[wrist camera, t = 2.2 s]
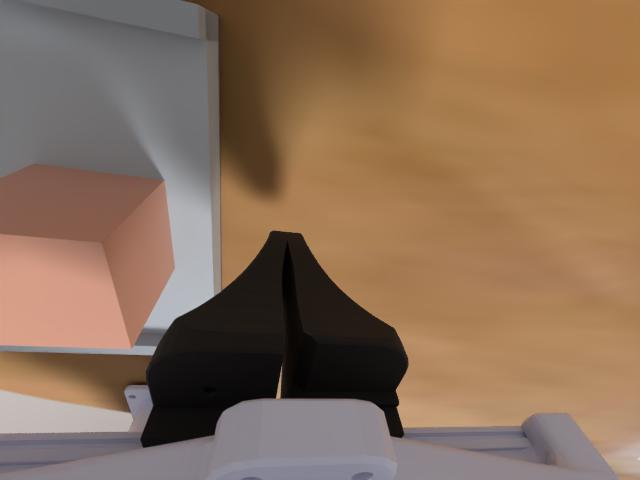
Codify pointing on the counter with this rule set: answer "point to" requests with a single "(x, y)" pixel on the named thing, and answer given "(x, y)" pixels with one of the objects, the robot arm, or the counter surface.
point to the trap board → (123, 120)
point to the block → (80, 256)
